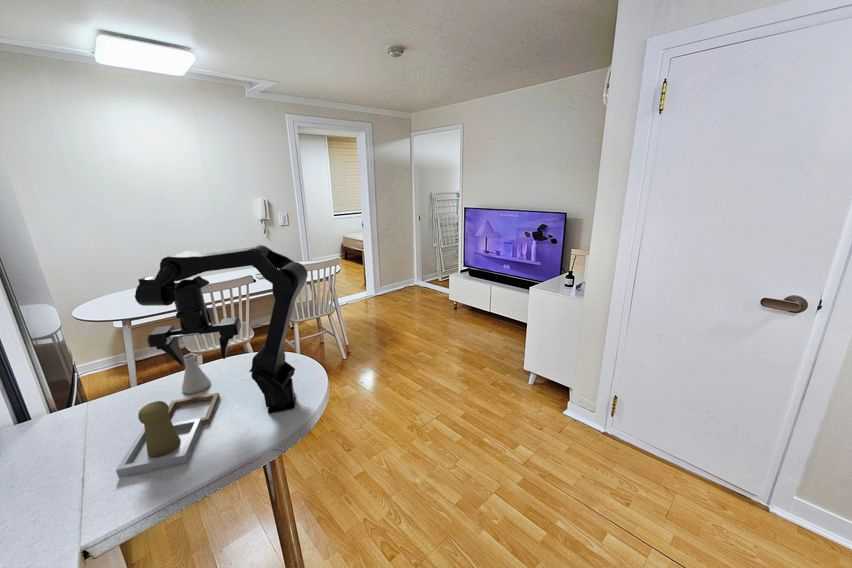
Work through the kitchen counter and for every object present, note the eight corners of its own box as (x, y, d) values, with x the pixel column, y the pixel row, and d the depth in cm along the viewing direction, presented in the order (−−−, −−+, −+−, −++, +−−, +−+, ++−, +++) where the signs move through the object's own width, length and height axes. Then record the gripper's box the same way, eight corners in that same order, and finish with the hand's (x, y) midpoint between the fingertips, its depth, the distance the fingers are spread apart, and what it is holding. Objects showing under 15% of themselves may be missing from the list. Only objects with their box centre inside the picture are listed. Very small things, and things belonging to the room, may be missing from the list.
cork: (163, 459, 73) (150, 417, 70) (140, 455, 75) (126, 413, 71) (187, 438, 79) (176, 398, 76) (165, 435, 80) (153, 395, 77)
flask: (204, 376, 104) (197, 347, 101) (216, 385, 100) (208, 354, 97) (177, 388, 98) (168, 357, 95) (188, 398, 94) (179, 366, 91)
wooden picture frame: (220, 397, 94) (218, 392, 94) (209, 423, 85) (208, 418, 84) (173, 405, 91) (172, 400, 91) (156, 434, 81) (155, 429, 81)
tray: (202, 425, 84) (200, 417, 83) (187, 463, 73) (184, 455, 73) (144, 436, 81) (141, 429, 80) (119, 478, 70) (115, 470, 69)
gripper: (238, 289, 93) (249, 341, 98) (156, 298, 87) (171, 352, 92) (231, 304, 83) (243, 361, 88) (138, 315, 77) (156, 375, 82)
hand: (204, 361), depth 87 cm, fingers open, 9 cm apart
